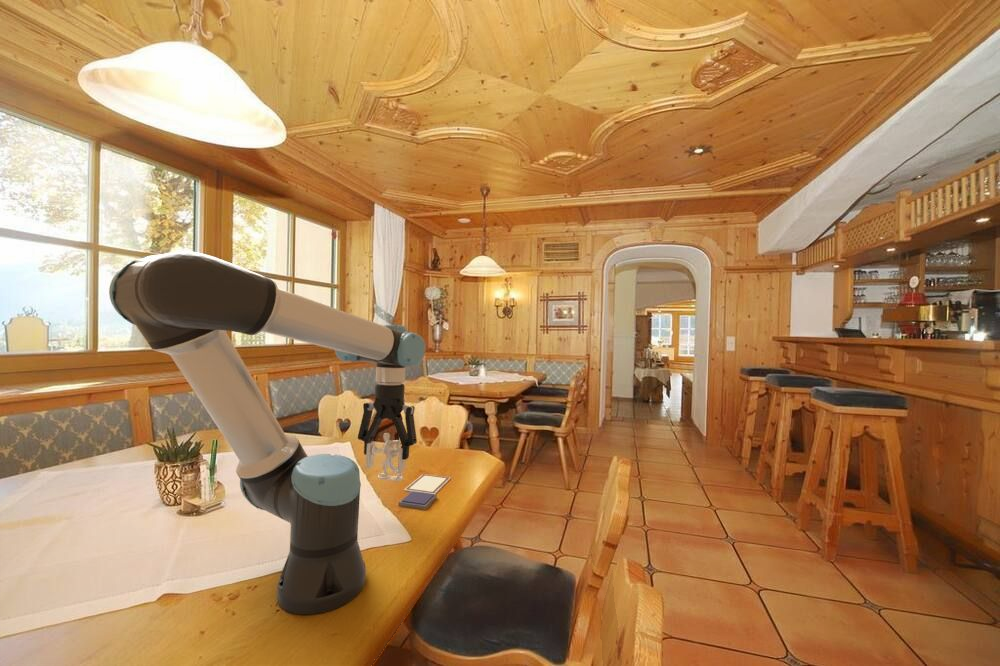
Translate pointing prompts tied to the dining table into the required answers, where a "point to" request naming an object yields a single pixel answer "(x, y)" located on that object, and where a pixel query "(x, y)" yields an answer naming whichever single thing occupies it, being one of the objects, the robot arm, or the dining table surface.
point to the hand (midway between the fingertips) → (385, 469)
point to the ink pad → (417, 500)
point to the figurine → (388, 458)
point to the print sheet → (427, 484)
